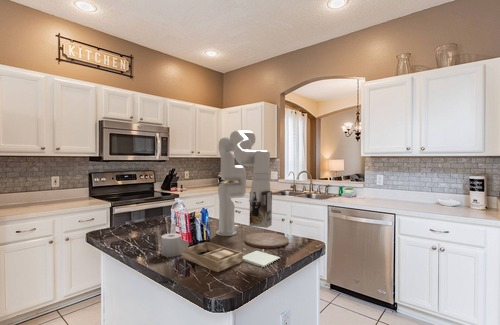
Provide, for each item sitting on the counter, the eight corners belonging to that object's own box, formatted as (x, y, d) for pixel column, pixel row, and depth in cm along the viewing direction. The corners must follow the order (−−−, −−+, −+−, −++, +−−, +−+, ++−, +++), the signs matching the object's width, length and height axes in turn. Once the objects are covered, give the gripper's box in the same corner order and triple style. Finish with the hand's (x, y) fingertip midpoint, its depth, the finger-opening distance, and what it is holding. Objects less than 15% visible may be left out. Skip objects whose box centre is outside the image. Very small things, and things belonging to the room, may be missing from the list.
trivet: (295, 240, 158) (295, 237, 158) (275, 252, 138) (275, 248, 137) (259, 233, 172) (259, 230, 172) (235, 243, 151) (236, 239, 151)
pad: (256, 252, 136) (256, 250, 136) (280, 259, 127) (280, 257, 127) (239, 259, 126) (239, 257, 126) (263, 267, 117) (263, 265, 117)
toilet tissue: (191, 253, 133) (191, 236, 133) (163, 258, 126) (163, 239, 126) (185, 248, 141) (185, 231, 141) (159, 252, 134) (159, 234, 134)
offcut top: (224, 254, 126) (224, 249, 126) (234, 258, 122) (234, 253, 122) (209, 260, 120) (209, 254, 120) (219, 264, 115) (219, 258, 115)
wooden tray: (207, 249, 139) (207, 241, 139) (242, 261, 124) (242, 252, 124) (181, 257, 127) (182, 249, 127) (217, 272, 112) (217, 262, 112)
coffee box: (272, 225, 127) (272, 191, 127) (267, 228, 122) (267, 192, 121) (254, 222, 131) (255, 189, 131) (248, 225, 125) (249, 191, 125)
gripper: (265, 175, 135) (265, 211, 135) (243, 177, 122) (242, 216, 122) (278, 176, 130) (277, 213, 131) (256, 178, 117) (255, 219, 117)
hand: (260, 214), depth 126 cm, fingers closed on coffee box, 7 cm apart
